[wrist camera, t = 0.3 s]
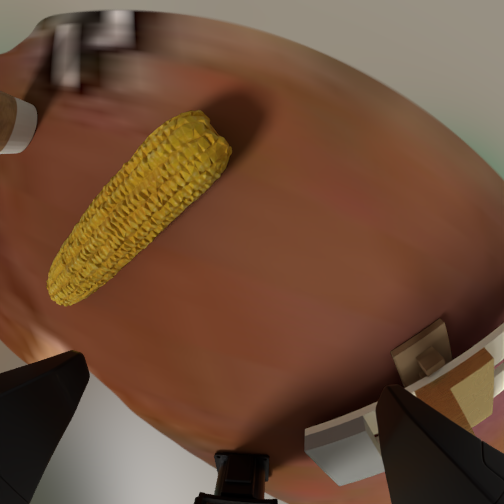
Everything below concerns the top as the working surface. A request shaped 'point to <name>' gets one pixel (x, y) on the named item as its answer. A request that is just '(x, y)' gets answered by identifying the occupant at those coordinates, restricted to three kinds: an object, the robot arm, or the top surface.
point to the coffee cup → (16, 123)
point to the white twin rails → (365, 425)
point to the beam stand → (423, 354)
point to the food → (138, 204)
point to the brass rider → (463, 391)
